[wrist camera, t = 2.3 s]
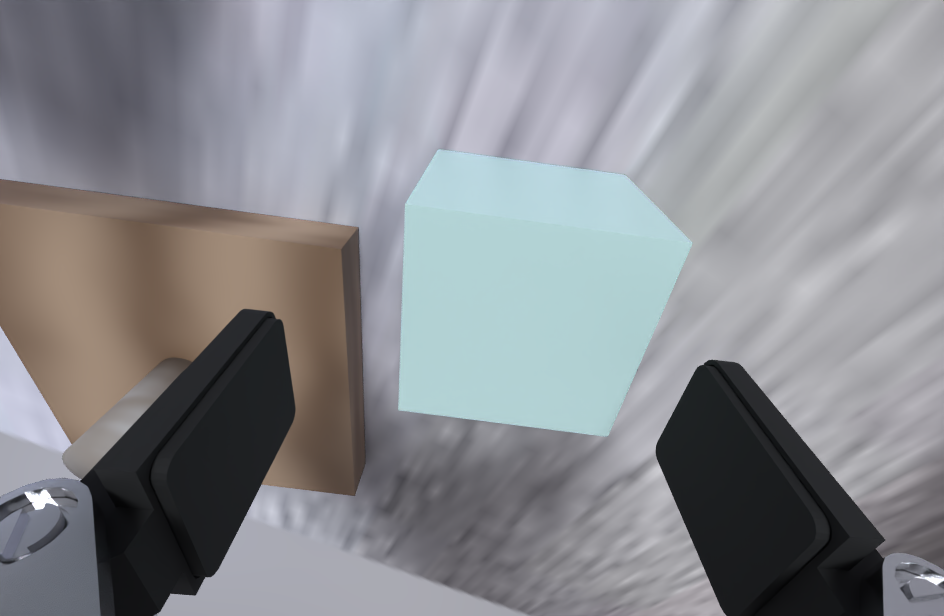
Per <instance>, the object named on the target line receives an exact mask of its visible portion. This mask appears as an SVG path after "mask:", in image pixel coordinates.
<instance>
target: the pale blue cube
mask: <svg viewBox="0 0 944 616" xmlns="http://www.w3.org/2000/svg"><path fill="white" fill-rule="evenodd" d="M692 244H693V243H692V242H691V241H690V240H689V239H688V238H687V237H686V236H685V235H684V234H683V233H682V232H681V231H680V230H679V229H678V228H677V227H676V226H675V225H674V224H673V223H672V222H671V221H670V219H669V218H668V217H667V216H666V215H665V214H664V213H663V212H662V211H661V210H660V209H659V208H658V207H657V206H656V205H655V204H654V203H653V202H652V201H651V200H650V199H649V198H648V197H647V196H646V195H645V194H644V193H643V192H642V191H641V190H640V189H639V188H638V187H637V186H636V185H635V184H634V183H633V182H632V181H631V180H630V179H629V178H628V177H627V176H626V175H623V174H616V173H608V172H601V171H594V170H587V169H579V168H572V167H565V166H557V165H550V164H543V163H536V162H528V161H521V160H514V159H507V158H499V157H492V156H485V155H478V154H470V153H463V152H456V151H449V150H441V149H438V151H437V152H436V154H435V155H434V157H433V159H432V160H431V162H430V164H429V165H428V167H427V169H426V170H425V172H424V174H423V175H422V177H421V179H420V180H419V182H418V184H417V185H416V187H415V189H414V190H413V192H412V194H411V195H410V197H409V199H408V200H407V202H406V204H405V224H404V254H403V284H402V314H401V344H400V374H399V404H398V410H401V411H409V412H416V413H424V414H432V415H440V416H448V417H456V418H464V419H471V420H479V421H487V422H495V423H503V424H511V425H519V426H526V427H534V428H542V429H550V430H558V431H566V432H574V433H581V434H589V435H597V436H605V437H608V435H609V433H610V430H611V428H612V426H613V423H614V421H615V419H616V417H617V414H618V412H619V410H620V407H621V405H622V403H623V401H624V398H625V396H626V394H627V392H628V389H629V387H630V385H631V382H632V380H633V378H634V376H635V373H636V371H637V369H638V367H639V364H640V362H641V360H642V357H643V355H644V353H645V351H646V348H647V346H648V344H649V341H650V339H651V337H652V335H653V332H654V330H655V328H656V326H657V323H658V321H659V319H660V316H661V314H662V312H663V310H664V307H665V305H666V303H667V301H668V298H669V296H670V294H671V291H672V289H673V287H674V285H675V282H676V280H677V278H678V276H679V273H680V271H681V269H682V266H683V264H684V262H685V260H686V257H687V255H688V253H689V250H690V248H691V246H692Z"/></svg>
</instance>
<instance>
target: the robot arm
mask: <svg viewBox="0 0 944 616" xmlns="http://www.w3.org/2000/svg"><path fill="white" fill-rule="evenodd" d="M295 411H296V407H295V400H294V393H293V386H292V379H291V372H290V366H289V359H288V352H287V345H286V338H285V332H284V325H283V322H282V320H280V319H276V317H275V315H274V313H273V312H271V311H262V310H253V309H242V310H241V311H240V312H239V313H238V314H237V315H236V316H235V317H234V318H233V319H232V320H231V321H230V322H229V323H228V324H227V325H226V327H225V328H224V329H223V330H222V331H221V332H220V333H219V334H218V335H217V336H216V337H215V338H214V339H213V341H212V342H211V343H210V344H209V345H208V346H207V347H206V348H205V349H204V350H203V351H202V352H201V353H200V354H199V356H198V357H197V358H196V359H195V360H194V361H193V362H192V363H191V364H190V365H189V366H188V367H187V368H186V369H185V370H184V371H183V372H182V373H181V374H180V375H179V376H178V377H177V378H176V379H175V380H174V381H173V382H172V383H171V384H170V385H169V387H168V388H167V389H166V390H165V391H164V392H163V393H162V394H161V395H160V396H159V397H158V398H157V399H156V400H155V402H154V403H153V404H152V405H151V406H150V407H149V408H148V409H147V410H146V411H145V412H144V413H143V414H142V415H141V417H140V418H139V419H138V420H137V421H136V422H135V423H134V424H133V425H132V426H131V427H130V428H129V429H128V430H127V432H126V433H125V434H124V435H123V436H122V437H121V438H120V439H119V440H118V441H117V442H116V443H115V444H114V445H113V447H112V448H111V449H110V450H109V451H108V452H107V453H106V454H105V455H104V456H103V457H102V458H101V459H100V460H99V461H98V463H97V464H96V465H95V466H94V467H93V468H92V469H91V470H90V471H89V472H88V473H87V474H86V475H85V476H84V478H83V479H82V480H81V481H78V480H73V479H68V478H58V479H46V480H42V481H39V482H35V483H32V484H28V485H25V486H22V487H20V488H18V489H16V490H14V491H11V492H9V493H7V494H4V495H2V496H1V497H0V616H157V613H159V612H160V611H161V609H162V607H163V606H164V604H165V602H166V600H167V599H168V597H169V595H170V594H183V595H196V594H197V592H198V590H199V588H200V586H201V584H202V582H203V580H204V579H205V577H212V576H213V575H214V574H215V573H216V571H217V570H218V569H219V567H220V565H221V563H222V561H223V559H224V557H225V555H226V553H227V551H228V549H229V547H230V545H231V543H232V541H233V539H234V538H235V536H236V534H237V532H238V530H239V528H240V526H241V524H242V522H243V520H244V518H245V516H246V514H247V512H248V510H249V508H250V506H251V504H252V502H253V500H254V498H255V496H256V494H257V492H258V490H259V488H260V486H261V484H262V482H263V480H264V479H265V477H266V475H267V473H268V471H269V469H270V467H271V465H272V463H273V461H274V459H275V457H276V455H277V453H278V451H279V449H280V447H281V445H282V443H283V441H284V439H285V437H286V435H287V433H288V431H289V429H290V427H291V425H292V423H293V421H294V417H295ZM656 457H657V460H658V462H659V465H660V467H661V469H662V472H663V474H664V476H665V479H666V481H667V483H668V486H669V488H670V490H671V493H672V495H673V497H674V500H675V502H676V504H677V507H678V509H679V511H680V513H681V516H682V518H683V520H684V523H685V525H686V527H687V530H688V532H689V534H690V537H691V539H692V541H693V544H694V546H695V548H696V551H697V553H698V555H699V558H700V560H701V562H702V565H703V567H704V569H705V572H706V574H707V576H708V579H709V581H710V583H711V586H712V588H713V590H714V593H715V595H716V597H717V599H718V602H719V604H720V606H721V608H722V610H723V612H724V613H725V614H726V616H944V570H943V569H941V568H940V567H938V566H937V565H935V564H933V563H930V562H928V561H926V560H924V559H922V558H920V557H917V556H913V555H910V554H906V553H892V554H890V555H888V556H887V557H885V558H884V559H883V558H882V557H881V555H880V554H879V553H878V552H877V550H876V548H877V547H878V546H879V545H880V544H881V543H883V542H884V541H885V539H884V538H883V537H882V535H881V534H880V533H879V532H878V531H877V529H876V528H875V527H874V526H873V524H872V523H871V522H870V521H869V520H868V518H867V517H866V516H865V515H864V514H863V512H862V511H861V510H860V509H859V508H858V506H857V505H856V504H855V503H854V501H853V500H852V499H851V498H850V497H849V495H848V494H847V493H846V492H845V491H844V489H843V488H842V487H841V486H840V485H839V483H838V482H837V481H836V480H835V478H834V477H833V476H832V475H831V474H830V472H829V471H828V470H827V469H826V468H825V466H824V465H823V464H822V463H821V462H820V460H819V459H818V458H817V457H816V455H815V454H814V453H813V452H812V451H811V449H810V448H809V447H808V446H807V445H806V443H805V442H804V441H803V440H802V439H801V437H800V436H799V435H798V434H797V432H796V431H795V430H794V429H793V428H792V426H791V425H790V424H789V423H788V422H787V420H786V419H785V418H784V417H783V415H782V414H781V413H780V412H779V411H778V409H777V408H776V407H775V406H774V405H773V403H772V402H771V401H770V400H769V399H768V397H767V396H766V395H765V394H764V392H763V391H762V390H761V389H760V388H759V386H758V385H757V384H756V383H755V382H754V380H753V379H752V378H751V377H750V376H749V374H748V373H747V372H746V371H745V369H744V368H743V367H742V366H741V365H740V364H738V363H735V362H727V361H718V360H708V361H707V362H705V364H704V365H701V366H699V367H697V369H696V370H695V372H694V374H693V376H692V378H691V380H690V382H689V384H688V385H687V387H686V389H685V391H684V393H683V395H682V397H681V399H680V401H679V402H678V404H677V406H676V408H675V410H674V412H673V414H672V416H671V418H670V419H669V421H668V423H667V425H666V427H665V429H664V431H663V433H662V435H661V436H660V438H659V440H658V442H657V445H656Z"/></svg>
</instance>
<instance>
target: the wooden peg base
mask: <svg viewBox="0 0 944 616" xmlns="http://www.w3.org/2000/svg"><path fill="white" fill-rule="evenodd" d="M242 309H253V310H262V311H271V312H273V313H274V315H275V317H276V319H280V320H282V322H283V325H284V332H285V338H286V345H287V352H288V359H289V366H290V372H291V379H292V386H293V393H294V400H295V407H296V411H295V417H294V421H293V423H292V425H291V427H290V429H289V431H288V433H287V435H286V437H285V439H284V441H283V443H282V445H281V447H280V449H279V451H278V453H277V455H276V457H275V459H274V461H273V463H272V465H271V467H270V469H269V471H268V473H267V475H266V477H265V479H264V480H263V482H262V485H270V486H279V487H287V488H295V489H303V490H311V491H319V492H327V493H335V494H343V495H351V496H355V494H356V491H357V488H358V485H359V481H360V478H361V475H362V472H363V469H364V466H365V433H364V400H363V366H362V333H361V300H360V266H359V233H358V227H352V226H345V225H337V224H330V223H322V222H315V221H307V220H300V219H293V218H285V217H278V216H270V215H263V214H255V213H248V212H240V211H233V210H226V209H218V208H211V207H203V206H196V205H188V204H181V203H173V202H166V201H159V200H151V199H144V198H136V197H129V196H121V195H114V194H106V193H99V192H92V191H84V190H77V189H69V188H62V187H54V186H47V185H39V184H32V183H24V182H17V181H10V180H2V179H0V326H1V328H2V330H3V331H4V333H5V335H6V336H7V338H8V340H9V341H10V343H11V345H12V346H13V348H14V349H15V351H16V353H17V354H18V356H19V358H20V359H21V361H22V363H23V364H24V366H25V368H26V369H27V371H28V373H29V374H30V376H31V378H32V379H33V381H34V383H35V384H36V386H37V388H38V389H39V391H40V392H41V394H42V396H43V397H44V399H45V401H46V402H47V404H48V406H49V407H50V409H51V411H52V412H53V414H54V416H55V417H56V419H57V421H58V422H59V424H60V426H61V427H62V429H63V431H64V432H65V434H66V435H67V437H68V439H69V440H70V442H71V444H72V445H71V446H70V447H69V448H68V449H67V450H66V451H65V452H64V453H63V455H62V460H63V462H64V464H65V466H66V467H67V468H68V469H69V470H70V471H71V472H72V473H73V474H74V475H76V476H77V477H78V478H80V479H83V478H84V476H85V475H86V474H87V473H88V472H89V471H90V470H91V469H92V468H93V467H94V466H95V465H96V464H97V463H98V461H99V460H100V459H101V458H102V457H103V456H104V455H105V454H106V453H107V452H108V451H109V450H110V449H111V448H112V447H113V445H114V444H115V443H116V442H117V441H118V440H119V439H120V438H121V437H122V436H123V435H124V434H125V433H126V432H127V430H128V429H129V428H130V427H131V426H132V425H133V424H134V423H135V422H136V421H137V420H138V419H139V418H140V417H141V415H142V414H143V413H144V412H145V411H146V410H147V409H148V408H149V407H150V406H151V405H152V404H153V403H154V402H155V400H156V399H157V398H158V397H159V396H160V395H161V394H162V393H163V392H164V391H165V390H166V389H167V388H168V387H169V385H170V384H171V383H172V382H173V381H174V380H175V379H176V378H177V377H178V376H179V375H180V374H181V373H182V372H183V371H184V370H185V369H186V368H187V367H188V366H189V365H190V364H191V363H192V362H193V361H194V360H195V359H196V358H197V357H198V356H199V354H200V353H201V352H202V351H203V350H204V349H205V348H206V347H207V346H208V345H209V344H210V343H211V342H212V341H213V339H214V338H215V337H216V336H217V335H218V334H219V333H220V332H221V331H222V330H223V329H224V328H225V327H226V325H227V324H228V323H229V322H230V321H231V320H232V319H233V318H234V317H235V316H236V315H237V314H238V313H239V312H240V311H241V310H242Z"/></svg>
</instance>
